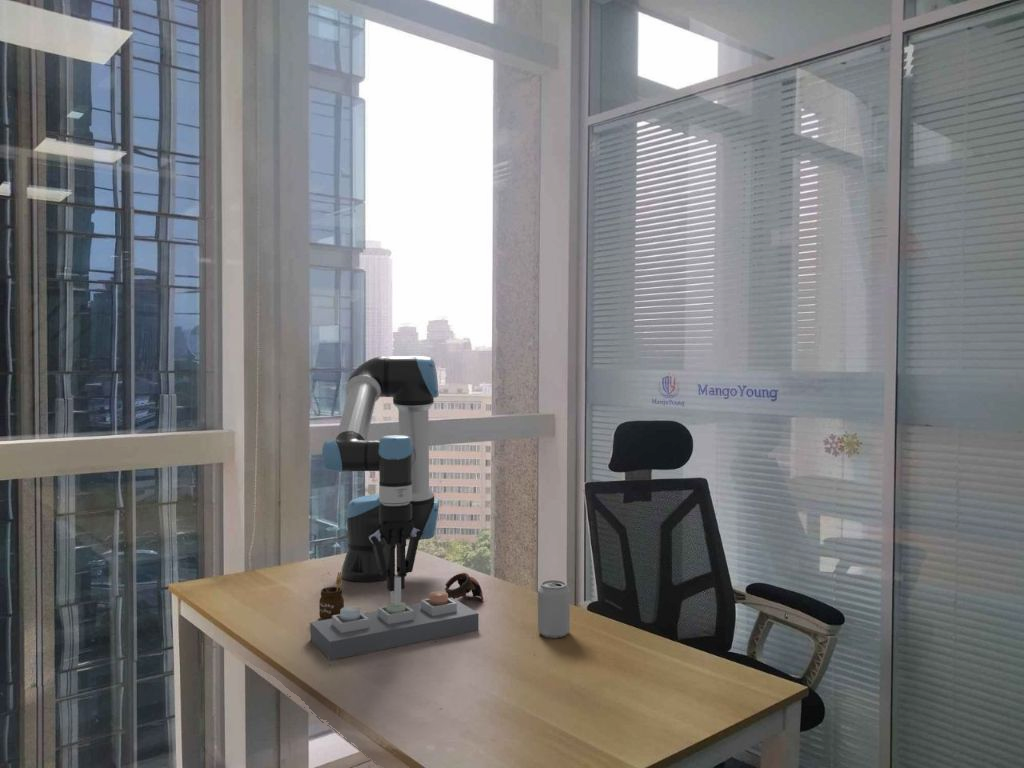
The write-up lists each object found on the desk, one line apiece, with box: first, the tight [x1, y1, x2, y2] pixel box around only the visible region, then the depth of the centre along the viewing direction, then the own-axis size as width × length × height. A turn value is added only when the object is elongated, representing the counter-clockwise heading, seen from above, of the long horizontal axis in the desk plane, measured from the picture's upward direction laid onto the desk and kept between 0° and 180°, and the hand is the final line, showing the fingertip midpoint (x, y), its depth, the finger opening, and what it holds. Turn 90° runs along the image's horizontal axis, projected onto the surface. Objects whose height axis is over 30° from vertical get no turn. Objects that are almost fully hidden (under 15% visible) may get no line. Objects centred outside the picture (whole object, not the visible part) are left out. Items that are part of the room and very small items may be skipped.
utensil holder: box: [318, 570, 345, 620], centre depth 194 cm, size 6×6×12 cm
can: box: [537, 579, 571, 639], centre depth 184 cm, size 8×8×12 cm
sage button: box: [385, 601, 406, 614], centre depth 183 cm, size 4×4×2 cm
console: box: [309, 598, 479, 661], centre depth 183 cm, size 14×36×6 cm, turn 121°
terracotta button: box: [429, 590, 448, 605], centre depth 188 cm, size 4×4×2 cm
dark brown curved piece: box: [444, 572, 484, 603], centre depth 209 cm, size 12×10×8 cm
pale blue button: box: [340, 605, 361, 622], centre depth 177 cm, size 4×4×2 cm
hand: (395, 603), depth 182 cm, fingers closed
